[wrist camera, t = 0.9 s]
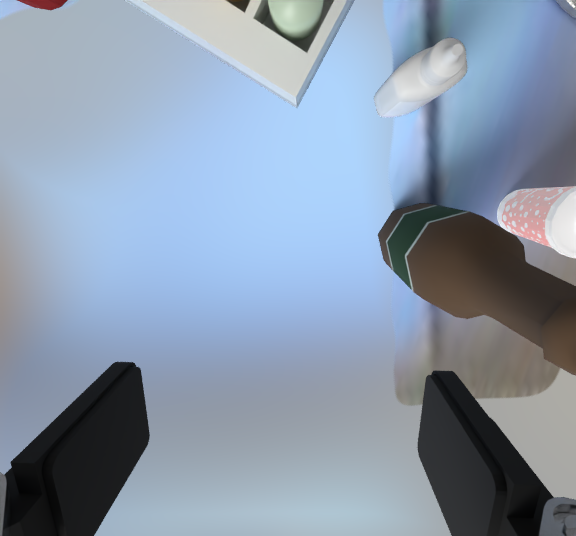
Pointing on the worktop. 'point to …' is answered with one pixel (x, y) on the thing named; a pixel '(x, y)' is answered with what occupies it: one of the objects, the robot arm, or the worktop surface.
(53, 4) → the plastic cup
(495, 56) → the worktop surface
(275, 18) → the button sage
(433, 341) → the worktop surface
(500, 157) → the worktop surface
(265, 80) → the white slotted frame
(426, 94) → the eye dropper bottle
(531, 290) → the beer bottle
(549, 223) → the beverage cup
